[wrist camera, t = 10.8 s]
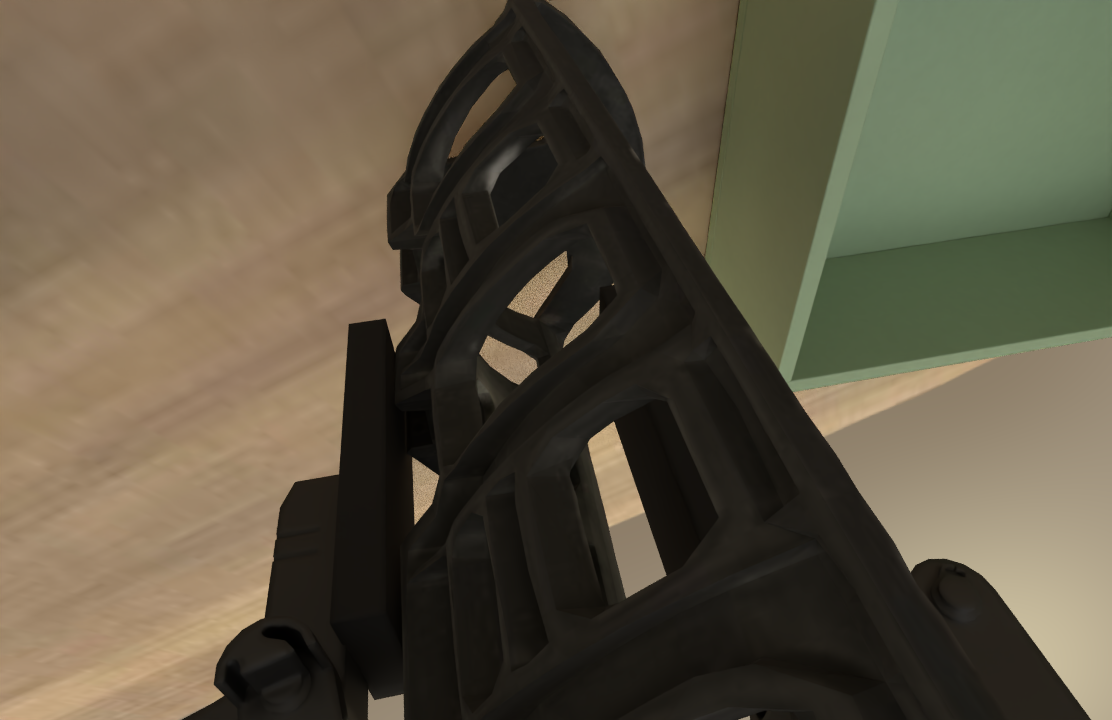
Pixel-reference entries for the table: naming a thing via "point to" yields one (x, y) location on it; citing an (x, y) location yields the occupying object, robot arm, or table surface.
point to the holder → (592, 404)
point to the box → (915, 182)
